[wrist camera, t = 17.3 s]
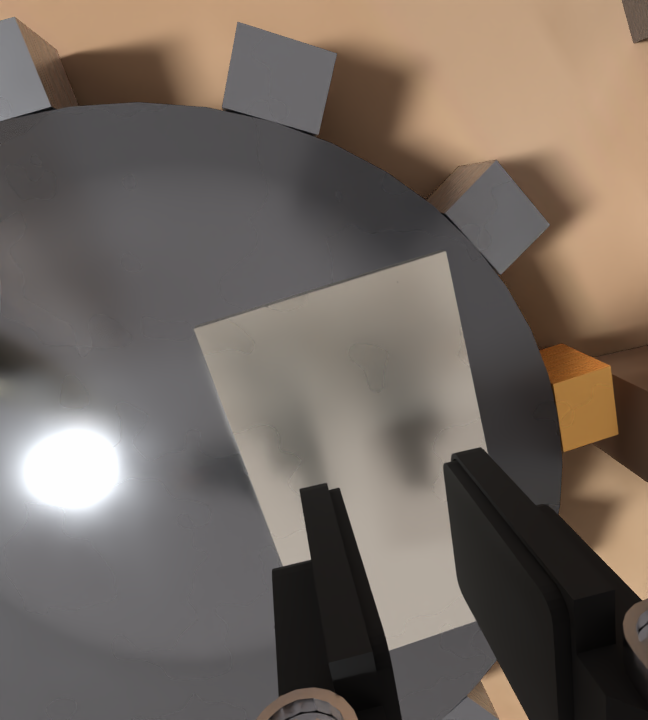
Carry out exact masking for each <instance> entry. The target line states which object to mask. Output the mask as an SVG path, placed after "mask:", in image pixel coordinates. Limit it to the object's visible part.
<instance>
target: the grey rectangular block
mask: <svg viewBox="0 0 648 720" xmlns="http://www.w3.org/2000/svg"><path fill="white" fill-rule="evenodd" d="M622 3H623V7H624V10H625V14H626V18H627V21H628V25H629V29H630V32H631V36H632V40H633V43H636V42H638V41H641V40H643V39H646V38H648V0H622Z"/></svg>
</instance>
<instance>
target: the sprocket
mask: <svg viewBox="0 0 648 720" xmlns="http://www.w3.org/2000/svg"><path fill="white" fill-rule="evenodd" d="M336 56H337V53H334V52H331V51H328V50H325V49H321V48H318V47H315V46H312V45H309V44H306V43H303V42H300V41H296V40H293V39H290V38H287V37H284V36H281V35H278V34H274V33H271V32H268V31H265V30H262V29H259V28H256V27H253V26H249V25H246V24H243V23H240V22H237V28H236V33H235V39H234V44H233V50H232V55H231V61H230V66H229V72H228V77H227V83H226V88H225V94H224V99H223V105H222V108H223V111H221V110H217V109H212V108H207V107H196V106H183V105H169V104H155V103H142V102H133V103H118V104H103V105H88V106H79V105H78V102H77V100H76V97H75V95H74V92H73V90H72V87H71V85H70V82H69V80H68V77H67V74H66V72H65V69H64V67H63V64H62V62H61V59H60V57H59V54H58V52H57V50H56V49H55V48H54V47H53V46H51V45H50V44H49V43H48V42H46V41H45V40H44V39H42V38H41V37H40V36H39V35H37V34H36V33H35V32H33V31H32V30H31V29H30V28H28V27H27V26H26V25H24V24H23V23H22V22H21V21H19V20H18V19H17V18H15V17H12V18H8V19H5V20H1V21H0V720H256V719H257V717H258V716H259V715H260V714H261V712H262V711H263V710H264V709H265V707H267V706H268V705H269V704H271V703H272V702H273V701H275V700H276V699H277V698H279V695H278V677H277V659H276V641H275V623H274V605H273V588H272V569H274V568H278V567H282V566H287V565H291V564H295V563H299V562H303V561H307V560H311V556H310V550H309V544H308V539H307V533H306V527H305V521H304V515H303V509H302V503H301V497H300V491H299V489H301V488H305V487H310V486H314V485H318V484H323V483H327V485H328V489H329V490H331V489H335V488H340V491H341V494H342V497H343V500H344V504H345V507H346V510H347V513H348V517H349V520H350V523H351V526H352V529H353V533H354V536H355V539H356V542H357V546H358V549H359V552H360V555H361V559H362V562H363V565H364V568H365V571H366V575H367V578H368V581H369V584H370V588H371V591H372V594H373V597H374V601H375V604H376V607H377V610H378V613H379V617H380V620H381V623H382V626H383V630H384V633H385V637H386V641H387V645H388V649H389V653H390V657H391V662H392V667H393V672H394V678H395V683H396V689H397V694H398V700H399V705H400V711H401V716H402V720H499V718H498V716H497V714H496V712H495V709H494V707H493V705H492V703H491V701H490V699H489V697H488V695H487V693H486V691H485V689H484V687H483V684H482V682H481V679H482V678H483V676H484V675H485V674H486V673H487V671H488V670H489V669H490V668H491V666H492V665H493V664H494V663H495V662H496V660H497V659H496V657H495V655H494V653H493V651H492V650H491V648H490V646H489V644H488V642H487V640H486V638H485V636H484V635H483V633H482V631H481V629H480V627H479V625H478V623H477V622H476V620H475V618H474V616H473V614H472V612H471V610H470V609H469V607H468V605H467V603H466V601H465V599H464V597H463V595H462V593H461V590H460V588H459V585H458V581H457V576H456V568H455V560H454V552H453V544H452V536H451V529H450V521H449V513H448V505H447V497H446V489H445V481H444V473H443V464H444V463H447V462H451V455H452V453H457V452H461V451H465V450H470V449H474V448H478V447H481V448H482V449H484V450H485V451H486V453H487V454H488V455H489V456H490V457H491V458H492V459H493V460H494V461H495V462H496V463H497V464H498V465H499V466H500V467H501V469H502V470H503V471H504V472H505V473H506V474H507V475H508V476H509V477H510V478H511V479H512V480H513V481H514V482H515V483H516V485H517V486H518V487H519V488H520V489H521V490H522V491H523V492H524V493H525V494H526V495H527V496H528V497H529V498H530V499H531V501H532V502H533V503H534V504H535V505H539V504H546V505H548V506H549V507H551V508H552V509H553V510H554V511H555V512H556V513H557V514H558V513H559V508H560V495H561V477H562V453H561V450H562V451H563V452H566V451H569V450H572V449H575V448H578V447H581V446H584V445H587V444H590V443H593V442H596V441H599V440H602V439H606V438H609V437H612V436H615V435H618V434H619V433H618V425H617V416H616V408H615V399H614V390H613V382H612V373H611V366H610V365H608V364H606V363H603V362H601V361H599V360H597V359H595V358H593V357H590V356H588V355H586V354H584V353H582V352H579V351H577V350H575V349H573V348H571V347H569V346H566V345H564V344H559V345H555V346H552V347H549V348H546V349H543V350H540V351H539V349H538V347H537V344H536V341H535V339H534V336H533V334H532V331H531V329H530V327H529V325H528V324H527V322H526V320H525V318H524V317H523V315H522V313H521V311H520V310H519V308H518V306H517V304H516V303H515V301H514V299H513V297H512V296H511V294H510V292H509V290H508V289H507V287H506V285H505V284H504V283H503V281H502V280H501V279H500V278H499V276H498V275H497V274H500V275H501V274H502V273H503V272H504V271H505V270H506V269H507V268H508V267H509V266H510V265H511V264H512V263H513V262H514V261H515V260H516V259H517V258H518V257H519V256H520V255H521V254H522V253H523V252H524V251H525V250H526V249H527V248H528V247H529V246H530V245H531V244H532V243H533V242H534V241H535V240H536V239H537V238H538V237H539V236H540V235H541V234H542V233H543V232H544V231H545V230H546V229H547V228H548V227H549V226H550V224H549V223H548V222H547V221H546V219H545V218H544V217H543V216H542V215H541V213H540V212H539V211H538V210H537V208H536V207H535V206H534V205H533V204H532V202H531V201H530V200H529V199H528V198H527V196H526V195H525V194H524V193H523V192H522V190H521V189H520V188H519V187H518V186H517V184H516V183H515V182H514V181H513V179H512V178H511V177H510V176H509V175H508V173H507V172H506V171H505V170H504V169H503V167H502V166H501V165H500V164H499V163H498V161H497V160H493V161H487V162H481V163H475V164H469V165H464V166H458V167H457V169H456V170H455V171H454V172H453V173H452V174H451V175H450V176H449V177H448V178H447V179H446V180H445V181H444V182H443V183H442V184H441V185H440V186H439V188H438V189H437V190H436V191H435V192H434V193H433V194H432V195H431V196H430V197H429V198H428V199H427V200H425V199H423V198H422V197H420V196H419V195H418V194H416V193H415V192H413V191H412V190H411V189H409V188H408V187H407V186H405V185H404V184H402V183H401V182H400V181H398V180H397V179H395V178H394V177H393V176H391V175H390V174H389V173H387V172H386V171H384V170H382V169H380V168H378V167H376V166H374V165H372V164H370V163H369V162H367V161H365V160H363V159H361V158H359V157H357V156H355V155H353V154H351V153H350V152H348V151H346V150H344V149H342V148H340V147H338V146H336V145H334V144H333V143H330V142H327V141H325V140H322V139H319V138H316V137H317V136H318V135H319V130H320V126H321V122H322V117H323V113H324V108H325V104H326V100H327V95H328V91H329V86H330V82H331V78H332V73H333V69H334V64H335V60H336ZM496 273H497V274H496Z"/></svg>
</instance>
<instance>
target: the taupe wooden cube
mask: <svg viewBox="0 0 648 720" xmlns="http://www.w3.org/2000/svg"><path fill="white" fill-rule="evenodd" d="M593 358H595V359H597V360H599V361H601V362H603V363H606V364H608V365H610V366H611V373H612V382H613V390H614V399H615V408H616V416H617V425H618V433H619V434H618V435H615V436H612V437H609V438H606V439H602V440H599V441H596V442H593V444H594V445H596V446H597V447H598V448H600V449H601V450H603V451H604V452H605V453H607V454H608V455H610V456H611V457H612V458H614V459H615V460H617V461H618V462H620V463H621V464H622V465H624V466H625V467H627V468H628V469H629V470H631V471H632V472H634V473H635V474H636V475H638V476H639V477H641V478H642V479H643V480H645V481H646V482H648V345H647V346H643V347H638V348H634V349H629V350H625V351H620V352H616V353H611V354H607V355H602V356H598V357H593Z"/></svg>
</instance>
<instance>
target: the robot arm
mask: <svg viewBox="0 0 648 720" xmlns="http://www.w3.org/2000/svg"><path fill="white" fill-rule="evenodd" d="M443 473H444V481H445V489H446V497H447V505H448V513H449V521H450V529H451V536H452V544H453V552H454V560H455V568H456V576H457V581H458V585H459V588H460V590H461V593H462V595H463V597H464V599H465V601H466V603H467V605H468V607H469V609H470V610H471V612H472V614H473V616H474V618H475V620H476V622H477V623H478V625H479V627H480V629H481V631H482V633H483V635H484V636H485V638H486V640H487V642H488V644H489V646H490V648H491V650H492V651H493V653H494V655H495V657H496V659H497V661H498V663H499V664H500V666H501V668H502V670H503V672H504V674H505V676H506V677H507V679H508V681H509V683H510V685H511V687H512V689H513V691H514V692H515V694H516V696H517V698H518V700H519V702H520V704H521V705H522V707H523V709H524V711H525V713H526V715H527V717H528V718H529V720H648V599H645V600H643V601H642V600H641V599H640V598H639V597H638V596H637V595H636V594H635V593H634V592H633V591H632V590H631V589H630V587H629V586H628V585H627V584H626V583H625V582H624V581H623V580H622V579H621V578H620V577H619V576H618V575H617V574H616V573H615V572H614V571H613V570H612V569H611V568H610V567H609V566H608V565H607V564H606V563H605V562H604V561H603V560H602V559H601V558H600V557H599V556H598V555H597V554H596V553H595V552H594V551H593V550H592V549H591V548H590V547H589V546H588V545H587V544H586V543H585V542H584V541H583V540H582V539H581V537H580V536H579V535H578V534H577V533H576V532H575V531H574V530H573V529H572V528H571V527H570V526H569V525H568V524H567V523H566V522H565V521H564V520H563V519H562V518H561V517H560V516H559V515H558V514H557V513H556V512H555V511H554V510H553V509H552V508H551V507H549V506H548V505H546V504H539V505H535V504H534V503H533V502H532V501H531V499H530V498H529V497H528V496H527V495H526V494H525V493H524V492H523V491H522V490H521V489H520V488H519V487H518V486H517V485H516V483H515V482H514V481H513V480H512V479H511V478H510V477H509V476H508V475H507V474H506V473H505V472H504V471H503V470H502V469H501V467H500V466H499V465H498V464H497V463H496V462H495V461H494V460H493V459H492V458H491V457H490V456H489V455H488V454H487V453H486V451H485V450H484V449H482V448H481V447H478V448H474V449H470V450H465V451H461V452H457V453H452V455H451V462H447V463H444V464H443ZM299 491H300V497H301V503H302V509H303V515H304V521H305V527H306V533H307V539H308V544H309V550H310V556H311V560H307V561H303V562H299V563H295V564H291V565H287V566H282V567H278V568H274V569H272V588H273V605H274V623H275V641H276V659H277V677H278V695H279V698H277V699H276V700H275V701H273V702H272V703H271V704H269V705H268V706H267V707H265V709H264V710H263V711H262V712H261V714H260V715H259V716H258V717H257V719H256V720H402V716H401V711H400V705H399V700H398V694H397V689H396V683H395V678H394V672H393V667H392V662H391V657H390V653H389V649H388V645H387V641H386V637H385V633H384V630H383V626H382V623H381V620H380V617H379V613H378V610H377V607H376V604H375V601H374V597H373V594H372V591H371V588H370V584H369V581H368V578H367V575H366V571H365V568H364V565H363V562H362V559H361V555H360V552H359V549H358V546H357V542H356V539H355V536H354V533H353V529H352V526H351V523H350V520H349V517H348V513H347V510H346V507H345V504H344V500H343V497H342V494H341V491H340V488H335V489H331V490H329V489H328V485H327V483H323V484H318V485H314V486H310V487H305V488H301V489H299Z"/></svg>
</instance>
